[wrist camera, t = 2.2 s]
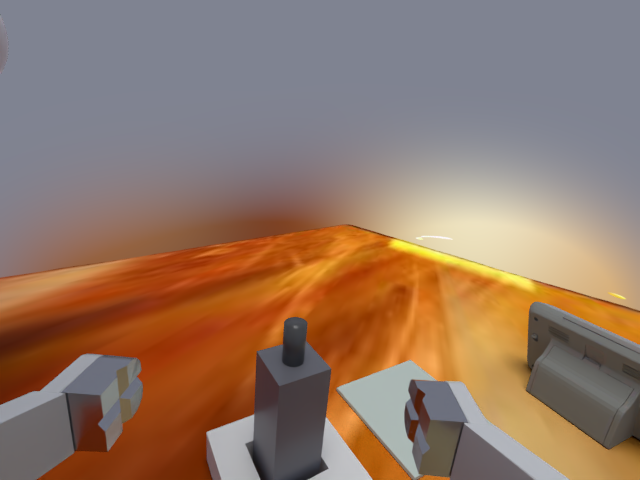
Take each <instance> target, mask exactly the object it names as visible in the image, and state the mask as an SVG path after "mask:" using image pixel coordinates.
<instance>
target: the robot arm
mask: <svg viewBox="0 0 640 480" xmlns="http://www.w3.org/2000/svg"><path fill="white" fill-rule="evenodd" d="M7 56H8V37H7V32H6V28H5V25H4V22H3V19H2V17H1V15H0V74H1V73H2V71H3V69H4V66H5V64H6V61H7ZM140 371H141V364H140V360H138V359H137V358H130V357H120V356H109V355H97V354H84V355H81V356H80V357H79V358H78V359H77V360H76V361H74V362H73V363H72V364H71V365H70V366H69V367H67V368H66V369H65V370H64V371H63V372H62V373H60V374H59V375H58V376H57V377H56V378H55V379H53V380H52V381H51V382H50V383H49V384H48V385H46V386H45V387H44V388H43V389H42V390H41V391H33V392H30V393H28V394H26V395H23V396H21V397H18V398H16V399H14V400H11V401H9V402H6V403H4V404H2V405H0V480H36V479H38V478H39V477H41V476H42V475H43V474H45V473H46V472H48V471H49V470H51V469H52V468H53V467H55V466H56V465H58V464H59V463H60V462H62V461H63V460H65V459H66V458H68V457H69V456H70V455H72V454H73V453H74V451H94V452H108V451H109V449H110V448H111V447H112V445H113V444H114V442H115V441H116V440H117V438H118V437H119V435H120V434H121V432H122V431H123V430H122V423H124V422H126V421H127V420H129V419H131V418H132V417H133V415H134V414H135V412H136V411H137V409H138V407H139V404H140V402H141V399H142V392H143V386H142V382H141V381H140V380H139V379H138V377H137V375H138V374H139V373H140ZM408 392H409V395H410V399H409V400H408V401H407V402H406V404H405V411H404V423H405V429H406V433H407V437H408V439H409V440H410V441H411V442H412V443H413V448H412V454H413V457H414V461H415V464H416V467H417V471H418V474H421V475H431V476H440V477H450V480H569V479H568V478H567V477H565V476H564V475H563V474H561V473H560V472H558V471H557V470H556V469H554V468H553V467H551V466H550V465H549V464H547V463H546V462H545V461H543V460H542V459H540V458H539V457H538V456H536V455H535V454H534V453H532V452H531V451H529V450H528V449H527V448H525V447H524V446H522V445H521V444H520V443H518V442H517V441H516V440H514V439H513V438H511V437H510V436H509V435H507V434H506V433H504V432H503V431H502V430H500V429H499V428H498V427H496V426H495V425H489V424H488V422H487V421H486V419H485V417H484V416H483V414H482V412H481V411H480V409H479V407H478V406H477V404H476V402H475V401H474V399H473V397H472V396H471V394H470V393H469V391H468V389H467V388H466V386H465V384H464V383H462V382H455V381H444V382H443V381H430V380H415V379H411V381H410V383H409V388H408Z"/></svg>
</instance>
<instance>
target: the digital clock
mask: <svg viewBox="0 0 640 480" xmlns="http://www.w3.org/2000/svg"><path fill="white" fill-rule="evenodd" d="M527 361H528V365H529V367H530V368H531V369H532V372H531V375H530V379H529V382H528V385H527V388H526V391H528V392H529V393H530V394H532V395H533V396H535V397H536V398H537V399H539V400H540V401H542V402H543V403H544V404H546V405H547V406H549V407H550V408H551V409H553V410H554V411H556V412H557V413H558V414H560V415H561V416H563V417H564V418H565V419H567V420H568V421H569V422H571V423H572V424H574V425H575V426H576V427H578V428H579V429H581V430H582V431H583V432H585V433H586V434H588V435H589V436H590V437H592V438H593V439H595V440H596V441H597V442H599V443H600V444H602V445H603V446H604V447H606V448H607V449H611V448H612V447H614V446H616V445H617V444H619V443H621V442H623V441H624V440H626V439H628V438H630V437H631V436H634V437H636V438H638V439H639V440H640V345H638V344H636V343H634V342H632V341H630V340H627V339H625V338H623V337H621V336H619V335H616V334H614V333H612V332H610V331H607V330H605V329H603V328H601V327H599V326H596V325H594V324H592V323H590V322H587V321H585V320H583V319H581V318H579V317H576V316H574V315H572V314H570V313H568V312H565V311H563V310H561V309H559V308H556V307H554V306H551V305H549V304H545V303H541V302H534V303H533V304H532V305H531V306H530V310H529V324H528V353H527Z"/></svg>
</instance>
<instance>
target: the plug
mask: <svg viewBox="0 0 640 480" xmlns="http://www.w3.org/2000/svg"><path fill="white" fill-rule="evenodd" d="M306 333H307V322H306V321H305V320H304V319H302V318H298V317H292V318H288V319H286V320H285V322H284V336H283V345H279V346H275V347H272V348H268V349H264V350H260V351H257V358H256V384H255V410H254V435H253V463H254V466H255V468H256V471H257V473H258V475H259V478H260V480H308V479H310V478H312V477H314V476H316V475H318V474H319V471H320V463H321V454H322V445H323V436H324V428H325V419H326V410H327V402H328V393H329V384H330V375H331V368H330V367H329V366H328V365H327V364H326V363H325V361H324V360H323V359H322V358H321V357H320V356H319V355H318V354H317V353H316V351H315V350H314V349H313V348H312V347H311V346H310V345H309V344H308V343H307V342H306Z"/></svg>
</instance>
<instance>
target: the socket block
mask: <svg viewBox="0 0 640 480" xmlns="http://www.w3.org/2000/svg"><path fill="white" fill-rule="evenodd" d="M206 435H207V462H208V465H209V469H210V472H211V476H212V479H213V480H260V478H259V475H258V473H257V471H256V468H255V466H254V463H253V435H254V415H252V416H249V417H246V418H244V419H241V420H238V421H235V422H233V423H230V424H227V425H225V426H222V427H219V428H216V429H214V430H211V431H208V432H206ZM308 480H373V479H372V478H371V477H370V475H369V474H368V473H367V471H366V470H365V469H364V467H363V466H362V465H361V463H360V462H359V461H358V459H357V458H356V457H355V455H354V454H353V452H352V451H351V450H350V448H349V447H348V446H347V444H346V443H345V442H344V440H343V439H342V438H341V436H340V435H339V434H338V432H337V431H336V430H335V428H334V427H333V426H332V424H331V423H330V421H329V420H328V419H327V417H326V419H325V428H324V436H323V445H322V454H321V463H320V471H319V474H318V475H316V476H314V477H312V478H310V479H308Z"/></svg>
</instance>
